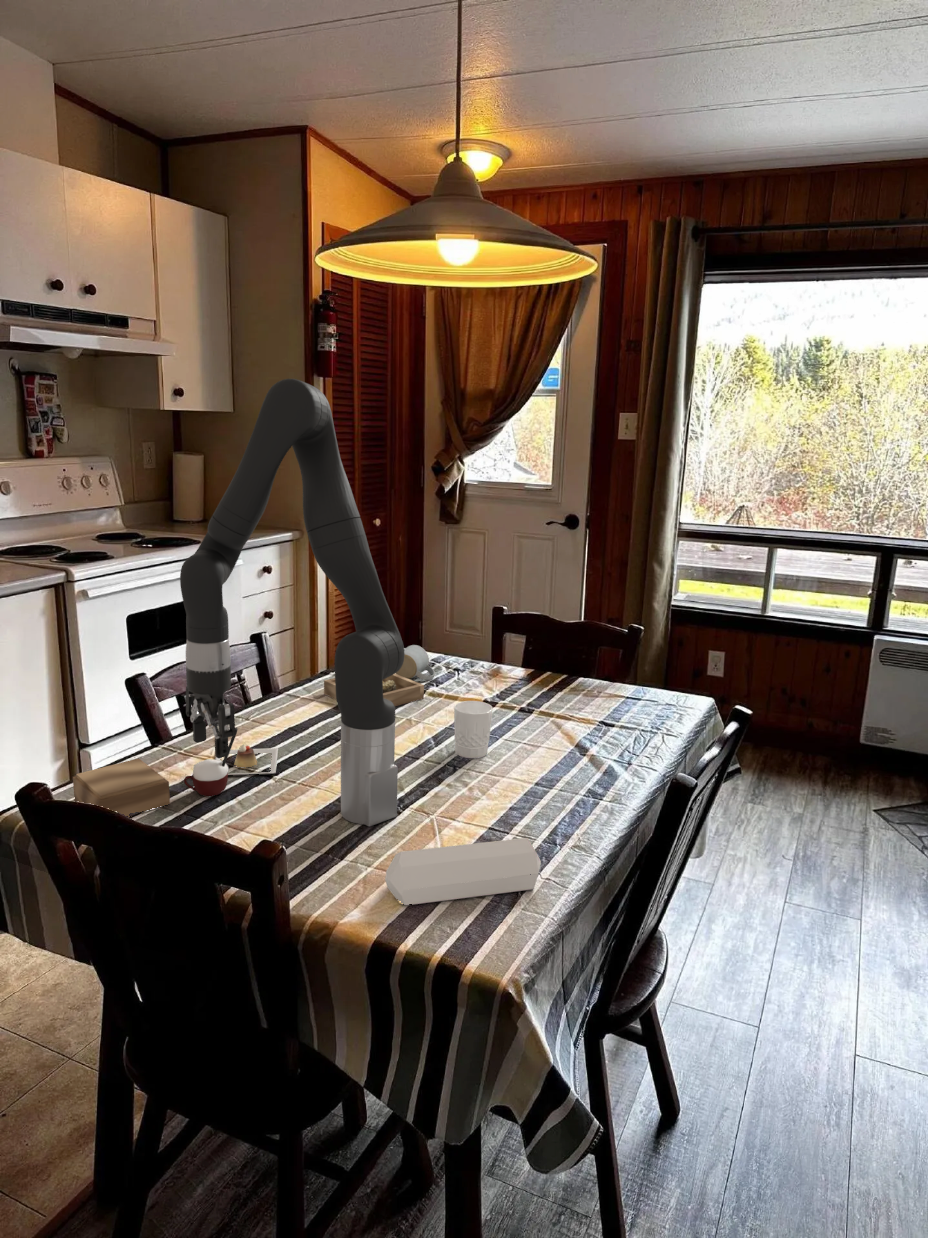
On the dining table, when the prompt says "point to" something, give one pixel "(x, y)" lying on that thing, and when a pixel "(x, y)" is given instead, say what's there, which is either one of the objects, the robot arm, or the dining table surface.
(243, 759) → the dessert
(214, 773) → the cocoa
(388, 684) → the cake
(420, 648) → the ceramic mug
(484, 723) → the white cup
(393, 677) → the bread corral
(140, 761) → the walnut pedestal
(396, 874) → the crystal
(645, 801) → the dining table surface
